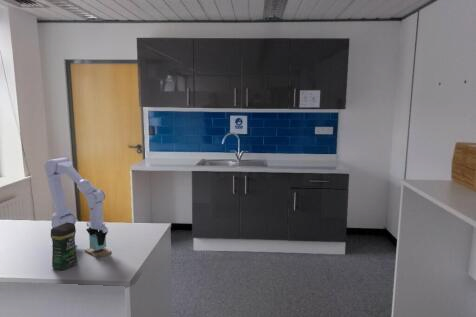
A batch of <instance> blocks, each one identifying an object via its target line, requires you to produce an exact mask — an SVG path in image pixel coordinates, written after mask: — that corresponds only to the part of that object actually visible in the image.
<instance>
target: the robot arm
mask: <svg viewBox="0 0 476 317" xmlns="http://www.w3.org/2000/svg"><path fill="white" fill-rule="evenodd" d="M44 169H45V173H46V179H47V183H48V186H49V187H48V188H49V191H50V195H51V198H52V199H51V200H52V203H53V208H54V213H53V214H51V217H50V218H51V229H52V228H54V227H57V226H59V225H62V224H64V223H66V222H68V223H74V225H76V223H77V220H76V219H77V218H76V216H75V214H74V212H73V210H72V209H70V208H68V205H67V200H66V196H65V193H64V192H65V191H64V188H63V183H62V180H61V179H62V178H61V177H62V176H63V175H66V176H68V178H70V179H71V180H72V181H73V182H74V183H75V184H76V188H77V189H78V190H79V191H80V192H81V194H83V195H84V197H85V202H86V203H87V207H88V208H89V221H87V222H86V226H87V227H88V228H86V231H87V233H88V234H89V235H88V236H90V235H93V234H96V236H97V239H98V245H99V246H101V245H103V244H104V240H105V237H106V238H107V234H108V233H109V228H108V227H107V226H106V222H104V208H103V202H104V201H105V199H106V195H105V194H106V193H105V192H104V190H102V189H100V188H99V189H98V188H96V187H95V186H94V184H92V183H91V181H90V180H89V179H86V178H85V179H84V178H83V177H82V176H81V174H80V173H79V172H78V171H77V170H76V169H75V167H74V166H73V162H72V160H70V158H69V157H65V156H64V157H60V158H53V159H48V160H46V161H45V164H44ZM76 246H77V247H78V244H77V243H75V247H76ZM51 247H53V244H52V245H51Z"/></svg>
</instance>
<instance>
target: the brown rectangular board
mask: <svg viewBox="0 0 476 317" xmlns="http://www.w3.org/2000/svg"><path fill="white" fill-rule="evenodd" d="M84 252H85V253H87V254H88V255H90V256H93V257H95V258H97V259H99V258H102V257H104V256H107V255H110V254H112V250H110V249H108V248H106V247H105V248H102V249H99V250H94V249H92V248H90V247H89V248H87V249H84Z"/></svg>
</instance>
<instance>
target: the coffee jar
mask: <svg viewBox="0 0 476 317" xmlns="http://www.w3.org/2000/svg"><path fill="white" fill-rule="evenodd" d="M76 232H77V229H76V224H74V223H68V222H66V223H64V224H62V225H59V226H57V227H54V228H52V227H51V229H50V238H51V241H52V242H51V243H52V245H53V246H52V256H51V257H52V259H51V267H52V269H54V270H58V271H59V270H67V269H69V268H71V267H72V266H74V265H75V264H77V263H78V255H77V248H76V246H75V244H76V241H75V240H76Z"/></svg>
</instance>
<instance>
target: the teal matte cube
mask: <svg viewBox="0 0 476 317" xmlns="http://www.w3.org/2000/svg"><path fill="white" fill-rule="evenodd" d="M88 236H89V248H92V249H94V250H99V249H102V248H106V247H107V236H106V237H105V240H104V244H103V245H101V246H99V245H98V239H97V236H96V234H93V235H88Z"/></svg>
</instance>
